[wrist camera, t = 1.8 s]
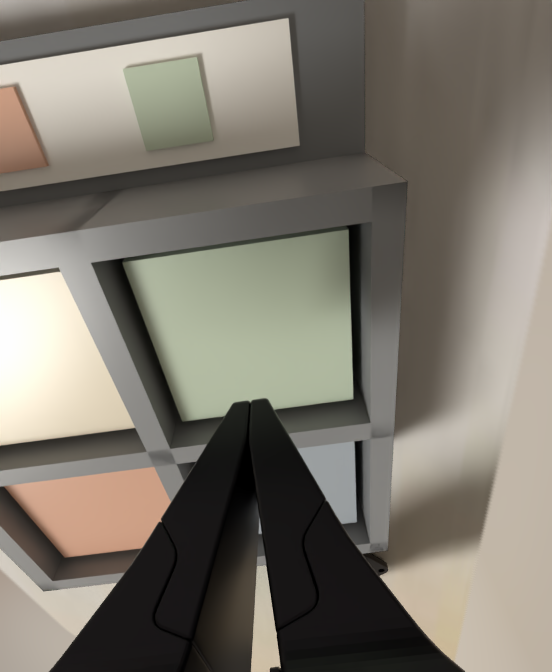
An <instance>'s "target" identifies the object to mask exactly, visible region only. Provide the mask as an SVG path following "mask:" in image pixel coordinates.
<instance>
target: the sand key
mask: <svg viewBox="0 0 552 672" xmlns="http://www.w3.org/2000/svg"><path fill="white" fill-rule="evenodd" d="M131 428H135V426H134V424H133V422H132V420H131V418H130V416H129V414H128V411H127V409H126V407H125V405H124V403H123V401H122V399H121V397H120V395H119V393H118V391H117V388H116V386H115V384H114V382H113V380H112V378H111V376H110V374H109V372H108V370H107V368H106V365H105V363H104V361H103V359H102V357H101V355H100V353H99V351H98V349H97V347H96V345H95V343H94V340H93V338H92V336H91V334H90V332H89V330H88V328H87V326H86V324H85V322H84V320H83V317H82V315H81V313H80V311H79V309H78V307H77V305H76V303H75V301H74V299H73V297H72V294H71V292H70V290H69V288H68V286H67V284H66V282H65V280H64V278H63V276H62V274H61V271H60V269H59V267H58V268H51V269H44V270H37V271H31V272H24V273H17V274H10V275H3V276H0V446H1V445H9V444H17V443H24V442H32V441H39V440H47V439H55V438H62V437H70V436H78V435H85V434H93V433H100V432H108V431H116V430H123V429H131Z"/></svg>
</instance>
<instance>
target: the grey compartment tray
mask: <svg viewBox="0 0 552 672" xmlns="http://www.w3.org/2000/svg"><path fill="white" fill-rule="evenodd" d="M407 182H408V181H406V180H405V179H403V178H402V177H400V176H399V175H397V174H396V173H394V172H393V171H391V170H390V169H389V168H387V167H386V166H384V165H383V164H381V163H380V162H378V161H377V160H375V159H374V158H372V157H371V156H369V155H368V154H366V153H365V54H364V0H246V1H240V2H234V3H228V4H222V5H216V6H210V7H204V8H198V9H192V10H186V11H180V12H174V13H168V14H162V15H156V16H150V17H144V18H138V19H132V20H126V21H120V22H114V23H107V24H101V25H95V26H89V27H83V28H77V29H71V30H65V31H59V32H53V33H47V34H41V35H35V36H29V37H23V38H17V39H11V40H5V41H0V276H3V275H10V274H17V273H24V272H31V271H37V270H44V269H51V268H58V267H59V269H60V271H61V274H62V276H63V278H64V280H65V282H66V284H67V286H68V288H69V290H70V292H71V294H72V297H73V299H74V301H75V303H76V305H77V307H78V309H79V311H80V313H81V315H82V317H83V320H84V322H85V324H86V326H87V328H88V330H89V332H90V334H91V336H92V338H93V340H94V343H95V345H96V347H97V349H98V351H99V353H100V355H101V357H102V359H103V361H104V363H105V365H106V368H107V370H108V372H109V374H110V376H111V378H112V380H113V382H114V384H115V386H116V388H117V391H118V393H119V395H120V397H121V399H122V401H123V403H124V405H125V407H126V409H127V411H128V414H129V416H130V418H131V420H132V422H133V424H134V426H135V428H131V429H123V430H116V431H108V432H100V433H93V434H85V435H78V436H70V437H62V438H55V439H47V440H39V441H32V442H24V443H17V444H9V445H1V446H0V549H1V550H2V551H3V552H4V553H5V554H6V555H7V556H8V557H9V558H10V559H11V560H12V561H13V562H14V563H15V564H16V565H17V566H18V567H19V568H20V569H21V570H23V571H24V572H25V573H26V574H27V575H28V576H29V577H30V578H31V579H32V580H33V581H34V582H35V583H36V584H37V585H38V586H39V587H40V588H41V589H42V590H43V591H51V590H60V589H68V588H77V587H85V586H93V585H102V584H110V583H118V581H119V580H120V579H121V577H122V576H123V575H124V573H125V572H126V570H127V569H128V568H129V566H130V565H131V564H132V562H133V561H134V559H135V558H136V556H137V555H138V553H139V552H140V550H141V549H142V548H140V549H132V550H124V551H116V552H107V553H99V554H91V555H83V556H74V557H66V558H64V557H63V555H62V554H61V553H60V552H59V551H58V549H57V548H56V547H55V546H54V545H53V544H52V542H51V541H50V540H49V539H48V538H47V537H46V535H45V534H44V533H43V532H42V531H41V530H40V528H39V527H38V526H37V525H36V524H35V522H34V521H33V520H32V519H31V518H30V517H29V515H28V514H27V513H26V512H25V511H24V510H23V508H22V507H21V506H20V505H19V504H18V503H17V501H16V500H15V499H14V498H13V497H12V496H11V494H10V493H9V492H8V491H7V490H6V488H5V487H4V486H9V485H16V484H24V483H32V482H40V481H48V480H56V479H63V478H71V477H79V476H87V475H95V474H103V473H110V472H118V471H126V470H134V469H142V468H150V467H154V468H155V470H156V472H157V474H158V476H159V478H160V480H161V482H162V485H163V487H164V489H165V491H166V493H167V495H168V497H169V499H170V501H172V500H173V498H174V497H175V495H176V493H177V492H178V490H179V489H180V487H181V485H182V484H183V482H184V480H185V479H186V477H187V476H188V474H189V472H190V471H191V469H192V468H193V466H194V464H195V463H196V461H197V460H198V458H199V456H200V455H201V453H202V452H203V450H204V448H205V447H206V445H207V444H208V442H209V440H210V439H211V437H212V436H213V434H214V432H215V431H216V429H217V428H218V426H219V424H220V423H221V421H222V420H223V418H224V416H222V417H214V418H206V419H199V420H191V421H184V422H182V420H181V417H180V415H179V412H178V409H177V407H176V404H175V401H174V399H173V396H172V393H171V391H170V388H169V386H168V383H167V380H166V378H165V375H164V372H163V370H162V367H161V364H160V362H159V359H158V356H157V354H156V351H155V348H154V346H153V343H152V341H151V338H150V335H149V333H148V330H147V327H146V325H145V322H144V319H143V317H142V314H141V311H140V309H139V306H138V303H137V301H136V298H135V295H134V293H133V290H132V288H131V285H130V282H129V280H128V277H127V274H126V272H125V269H124V266H123V264H122V262H123V261H124V259H125V258H127V257H133V256H140V255H147V254H154V253H161V252H168V251H175V250H181V249H188V248H195V247H202V246H209V245H216V244H223V243H229V242H236V241H243V240H250V239H257V238H264V237H271V236H277V235H284V234H291V233H298V232H305V231H312V230H319V229H325V228H332V227H339V226H347V228H348V231H349V265H350V300H351V335H352V370H353V399H351V400H344V401H336V402H328V403H321V404H313V405H305V406H298V407H290V408H283V409H275V412H276V413H277V415H278V417H279V419H280V420H281V422H282V424H283V425H284V427H285V429H286V431H287V432H288V434H289V436H290V437H291V439H292V441H293V443H294V444H295V446H296V448H297V449H298V448H306V447H314V446H322V445H329V444H337V443H345V442H353V441H354V444H355V478H356V513H357V522H355V523H347V524H342V525H343V527H344V528H345V530H346V532H347V533H348V535H349V536H350V538H351V539H352V540H353V542H354V543H355V545H356V546H357V547H358V549H359V550H360V551H361V553H362V554H364V553H372V552H381V551H388V535H389V517H390V498H391V480H392V461H393V443H394V424H395V405H396V387H397V368H398V350H399V331H400V312H401V294H402V275H403V257H404V238H405V220H406V201H407ZM262 565H266V559H265V552H264V545H263V539H262V534H258V552H257V566H262Z"/></svg>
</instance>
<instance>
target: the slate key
mask: <svg viewBox="0 0 552 672" xmlns="http://www.w3.org/2000/svg"><path fill="white" fill-rule="evenodd" d="M298 451H299V453H300V455H301V456H302V458H303V460H304V461H305V463H306V465H307V466H308V468H309V470H310V472H311V473H312V475H313V477H314V478H315V480H316V482H317V484H318V485H319V487H320V489H321V490H322V492H323V494H324V496H325V497H326V501H328V502H329V504H330V505H331V507H332V509H333V511H334V512H335V514H336V516H337V517H338V519H339V520H340V522H341V524H347V523H355V522H357V513H356V478H355V444H354V441H353V442H345V443H337V444H329V445H322V446H314V447H306V448H298ZM259 534H262V532H261V525H260V518H259Z"/></svg>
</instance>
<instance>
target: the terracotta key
mask: <svg viewBox="0 0 552 672" xmlns="http://www.w3.org/2000/svg"><path fill="white" fill-rule="evenodd" d="M4 487H5V488H6V490H7V491H8V492H9V493H10V494H11V496H12V497H13V498H14V499H15V500H16V501H17V503H18V504H19V505H20V506H21V507H22V508H23V510H24V511H25V512H26V513H27V514H28V515H29V517H30V518H31V519H32V520H33V521H34V522H35V524H36V525H37V526H38V527H39V528H40V530H41V531H42V532H43V533H44V534H45V535H46V537H47V538H48V539H49V540H50V541H51V542H52V544H53V545H54V546H55V547H56V548H57V549H58V551H59V552H60V553H61V554H62V555H63V557H64V558H66V557H74V556H83V555H91V554H99V553H107V552H116V551H124V550H132V549H140V548H142V547H143V546H144V544H145V542H146V541H147V539H148V538H149V536H150V535H151V533H152V532H153V530H154V528H155V527H156V525H157V523H158V522H162V521H161V517H162V516H163V514H164V513H165V511H166V509H167V508H168V506H169V505H170V503H171V501H170V499H169V497H168V495H167V493H166V491H165V489H164V487H163V485H162V482H161V480H160V478H159V476H158V474H157V472H156V470H155V468H154V467H150V468H142V469H134V470H126V471H118V472H110V473H103V474H95V475H87V476H79V477H71V478H63V479H56V480H48V481H40V482H32V483H24V484H16V485H9V486H4Z"/></svg>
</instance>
